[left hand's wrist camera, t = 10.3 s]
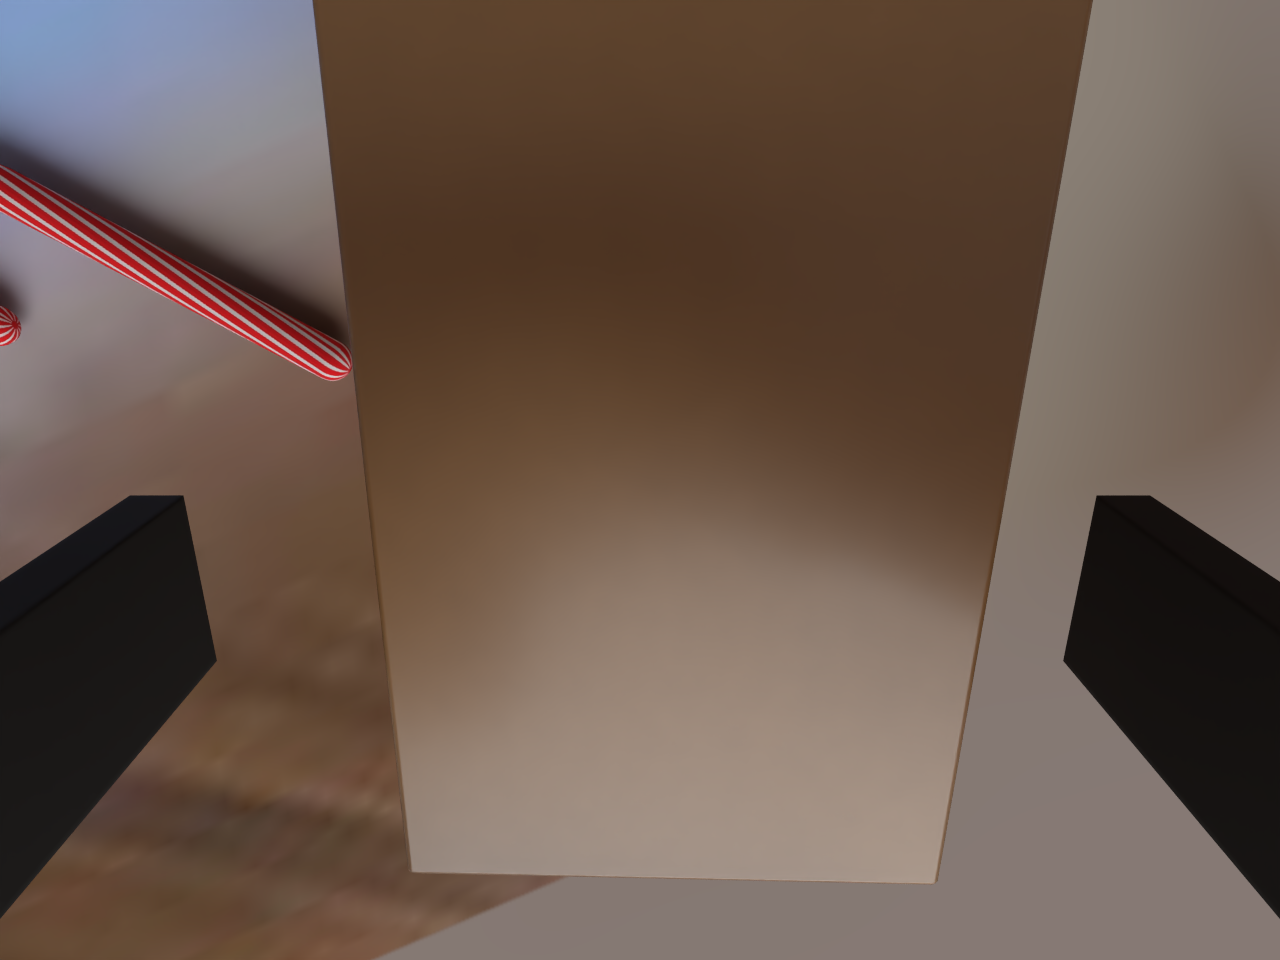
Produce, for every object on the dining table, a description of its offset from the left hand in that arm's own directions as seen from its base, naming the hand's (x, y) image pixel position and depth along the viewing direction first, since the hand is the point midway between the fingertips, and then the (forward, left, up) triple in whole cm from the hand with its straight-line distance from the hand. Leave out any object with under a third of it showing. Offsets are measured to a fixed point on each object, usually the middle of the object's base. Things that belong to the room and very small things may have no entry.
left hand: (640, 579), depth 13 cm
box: (-6, +7, -6) cm, 11 cm away
